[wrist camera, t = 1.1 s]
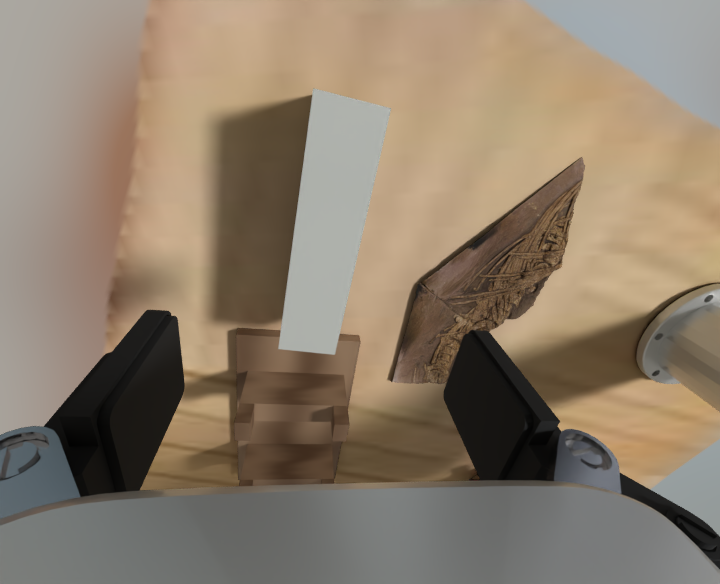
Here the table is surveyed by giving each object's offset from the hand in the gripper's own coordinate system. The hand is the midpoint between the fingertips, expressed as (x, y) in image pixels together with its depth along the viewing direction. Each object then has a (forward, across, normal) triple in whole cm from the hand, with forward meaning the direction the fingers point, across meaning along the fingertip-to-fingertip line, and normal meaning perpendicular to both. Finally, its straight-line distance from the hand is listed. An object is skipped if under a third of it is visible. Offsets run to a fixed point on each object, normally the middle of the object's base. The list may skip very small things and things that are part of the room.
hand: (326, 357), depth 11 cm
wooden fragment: (+18, -15, +5) cm, 24 cm away
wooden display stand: (+17, +1, +21) cm, 27 cm away
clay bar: (+18, 0, 0) cm, 18 cm away
